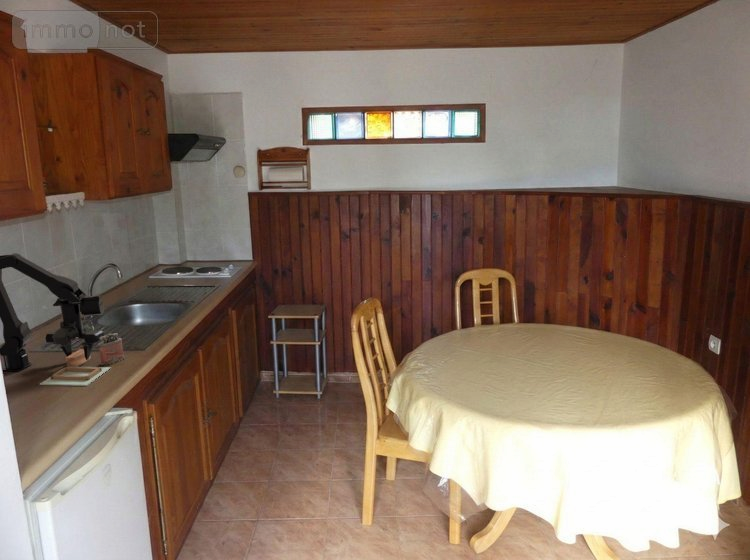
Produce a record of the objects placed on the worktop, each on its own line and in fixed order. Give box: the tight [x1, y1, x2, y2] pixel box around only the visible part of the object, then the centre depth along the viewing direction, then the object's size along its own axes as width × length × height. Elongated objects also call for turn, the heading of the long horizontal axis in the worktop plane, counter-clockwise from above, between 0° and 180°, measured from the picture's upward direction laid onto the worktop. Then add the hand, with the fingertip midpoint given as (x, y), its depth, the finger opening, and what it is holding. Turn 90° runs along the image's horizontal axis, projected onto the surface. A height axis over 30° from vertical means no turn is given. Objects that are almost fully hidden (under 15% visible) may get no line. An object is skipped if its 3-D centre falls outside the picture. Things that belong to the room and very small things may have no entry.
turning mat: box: [39, 366, 112, 387], centre depth 190 cm, size 16×14×2 cm
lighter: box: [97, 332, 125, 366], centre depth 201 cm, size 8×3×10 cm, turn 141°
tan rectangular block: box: [65, 348, 92, 367], centre depth 202 cm, size 4×8×4 cm, turn 173°
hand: (78, 359), depth 202 cm, fingers open, 6 cm apart
